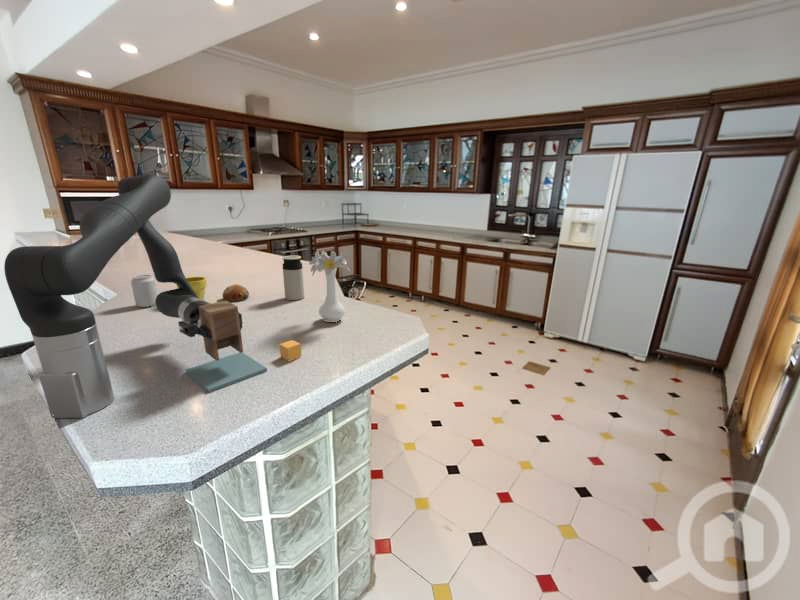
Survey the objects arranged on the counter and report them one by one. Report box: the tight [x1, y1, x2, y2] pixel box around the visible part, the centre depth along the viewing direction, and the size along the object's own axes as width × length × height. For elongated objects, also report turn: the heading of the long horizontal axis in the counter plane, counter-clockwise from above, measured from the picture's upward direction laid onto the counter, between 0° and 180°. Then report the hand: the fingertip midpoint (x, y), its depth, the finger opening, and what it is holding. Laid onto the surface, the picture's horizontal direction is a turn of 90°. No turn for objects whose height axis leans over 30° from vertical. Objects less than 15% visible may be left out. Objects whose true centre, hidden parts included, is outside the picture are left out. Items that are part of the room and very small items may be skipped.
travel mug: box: [282, 255, 305, 301], centre depth 149 cm, size 8×8×18 cm
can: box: [130, 274, 158, 308], centre depth 137 cm, size 8×8×12 cm
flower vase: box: [308, 250, 351, 323], centre depth 122 cm, size 13×18×25 cm
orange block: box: [279, 339, 302, 362], centre depth 96 cm, size 4×4×4 cm
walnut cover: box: [198, 300, 244, 361], centre depth 85 cm, size 6×6×12 cm
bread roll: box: [222, 283, 250, 303], centre depth 149 cm, size 10×10×8 cm
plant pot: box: [176, 276, 207, 301], centre depth 142 cm, size 10×10×10 cm
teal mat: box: [185, 351, 268, 394], centre depth 88 cm, size 14×14×1 cm
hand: (225, 330), depth 83 cm, fingers closed on walnut cover, 6 cm apart
